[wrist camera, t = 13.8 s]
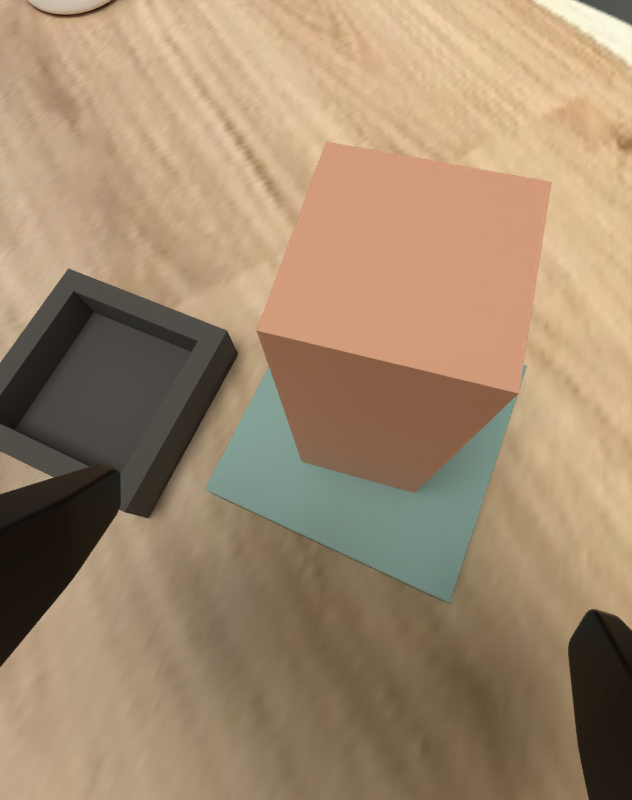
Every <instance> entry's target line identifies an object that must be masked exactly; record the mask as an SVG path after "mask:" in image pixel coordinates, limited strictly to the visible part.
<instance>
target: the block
mask: <svg viewBox="0 0 632 800" xmlns="http://www.w3.org/2000/svg"><path fill="white" fill-rule="evenodd" d="M550 188H551V182H548V181H543V180H537V179H532V178H526V177H520V176H515V175H509V174H504V173H498V172H492V171H487V170H481V169H476V168H470V167H465V166H459V165H453V164H448V163H442V162H437V161H431V160H425V159H420V158H414V157H409V156H403V155H398V154H392V153H386V152H381V151H375V150H370V149H364V148H358V147H353V146H347V145H342V144H336V143H331V142H326V144H325V146H324V149H323V152H322V155H321V157H320V160H319V163H318V165H317V168H316V171H315V174H314V176H313V179H312V182H311V184H310V187H309V190H308V193H307V195H306V198H305V201H304V203H303V206H302V209H301V212H300V214H299V217H298V220H297V222H296V225H295V228H294V231H293V233H292V236H291V239H290V242H289V244H288V247H287V250H286V252H285V255H284V258H283V261H282V263H281V266H280V269H279V271H278V274H277V277H276V280H275V282H274V285H273V288H272V290H271V293H270V296H269V299H268V301H267V304H266V307H265V309H264V312H263V315H262V318H261V320H260V323H259V326H258V328H257V333H258V336H259V339H260V341H261V344H262V347H263V350H264V353H265V356H266V359H267V362H268V365H269V368H270V371H271V374H272V377H273V380H274V382H275V385H276V388H277V391H278V394H279V397H280V400H281V403H282V406H283V409H284V412H285V415H286V418H287V420H288V423H289V426H290V429H291V432H292V435H293V438H294V441H295V444H296V447H297V450H298V453H299V456H300V459H301V461H302V462H304V463H308V464H311V465H315V466H319V467H322V468H326V469H329V470H333V471H337V472H340V473H344V474H347V475H351V476H355V477H358V478H362V479H366V480H369V481H373V482H376V483H380V484H384V485H387V486H391V487H394V488H398V489H402V490H405V491H409V492H413V493H415V492H416V491H417V490H418V489H419V488H420V487H421V486H422V485H423V484H424V483H426V482H427V481H428V480H429V479H430V478H431V477H432V476H433V475H434V474H435V473H436V472H437V471H438V470H439V469H440V468H441V467H442V466H443V465H444V464H445V463H447V462H448V461H449V460H450V459H451V458H452V457H453V456H454V455H455V454H456V453H457V452H458V451H459V450H460V449H461V448H462V447H463V446H464V445H465V444H466V443H467V442H469V441H470V440H471V439H472V438H473V437H474V436H475V435H476V434H477V433H478V432H479V431H480V430H481V429H482V428H483V427H484V426H485V425H486V424H487V423H488V422H490V421H491V420H492V419H493V418H494V417H495V416H496V415H497V414H498V413H499V412H500V411H501V410H502V409H503V408H504V407H505V406H506V405H507V404H508V403H509V402H510V401H512V400H513V399H514V398H515V397H516V396H517V395H518V394H519V389H520V383H521V377H522V370H523V364H524V357H525V351H526V344H527V338H528V331H529V325H530V318H531V312H532V305H533V299H534V292H535V286H536V279H537V273H538V266H539V260H540V253H541V247H542V240H543V234H544V227H545V221H546V214H547V208H548V201H549V195H550Z"/></svg>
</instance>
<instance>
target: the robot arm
mask: <svg viewBox="0 0 632 800" xmlns="http://www.w3.org/2000/svg"><path fill="white" fill-rule="evenodd" d="M120 506H121V474H120V471H119V470H118V469H117V468H114V467H111V466H107V465H104V464H96V465H93V466H89V467H86V468H83V469H80V470H77V471H73V472H70V473H67V474H64V475H61V476H57V477H54V478H51V479H48V480H45V481H41V482H38V483H35V484H32V485H29V486H25V487H22V488H19V489H16V490H13V491H9V492H6V493H3V494H0V667H1V666H2V665H3V663H4V662H5V661H6V660H7V659H8V657H9V656H10V655H11V654H12V653H13V651H14V650H15V649H16V648H17V646H18V645H19V644H20V643H21V642H22V640H23V639H24V638H25V637H26V636H27V634H28V633H29V632H30V631H31V630H32V628H33V627H34V626H35V625H36V623H37V622H38V621H39V620H40V619H41V617H42V616H43V615H44V614H45V613H46V611H47V610H48V609H49V608H50V606H51V605H52V604H53V603H54V602H55V600H56V599H57V598H58V597H59V596H60V594H61V593H62V592H63V591H64V590H65V588H66V587H67V586H68V584H69V583H70V582H71V581H72V579H73V578H74V577H75V575H76V574H77V573H78V571H79V570H80V568H81V567H82V565H83V564H84V562H85V561H86V559H87V558H88V556H89V555H90V553H91V552H92V551H93V549H94V548H95V546H96V545H97V543H98V542H99V540H100V539H101V537H102V536H103V534H104V533H105V531H106V530H107V528H108V527H109V525H110V524H111V522H112V521H113V519H114V518H115V516H116V515H117V513H118V511H119V509H120ZM568 656H569V666H570V676H571V685H572V695H573V705H574V715H575V724H576V733H577V741H578V748H579V753H580V759H581V764H582V769H583V774H584V779H585V783H586V788H587V793H588V798H589V800H632V630H631V629H630V628H629V627H628V626H627V625H626V624H625V623H624V622H623V621H622V620H621V619H620V618H619V617H617V616H616V615H613V614H610V613H607V612H603V611H600V610H596V609H591V610H589V611H588V612H587V613H586V614H585V616H584V617H583V619H582V621H581V622H580V624H579V626H578V627H577V629H576V630H575V632H574V634H573V635H572V637H571V639H570V642H569V646H568Z"/></svg>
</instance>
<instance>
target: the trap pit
mask: <svg viewBox="0 0 632 800" xmlns="http://www.w3.org/2000/svg"><path fill="white" fill-rule="evenodd" d="M237 355H238V353H237V351H236V349H235V347H234V345H233V342H232V340H231V338H230V336H229V334H228V332H227V331H226V330H224V329H221V328H219V327H216V326H214V325H211V324H209V323H206V322H204V321H201V320H198V319H196V318H193V317H191V316H188V315H186V314H183V313H181V312H178V311H175V310H173V309H170V308H168V307H165V306H163V305H160V304H158V303H155V302H152V301H150V300H147V299H145V298H142V297H140V296H137V295H135V294H132V293H130V292H127V291H124V290H122V289H119V288H117V287H114V286H112V285H109V284H107V283H104V282H101V281H99V280H96V279H94V278H91V277H89V276H86V275H84V274H81V273H78V272H76V271H73V270H71V269H68V270H67V271H66V273H65V274H64V275H63V277H62V278H61V279H60V281H59V282H58V284H57V285H56V286H55V288H54V289H53V291H52V292H51V293H50V295H49V296H48V297H47V299H46V300H45V302H44V303H43V304H42V306H41V307H40V309H39V310H38V311H37V313H36V314H35V316H34V317H33V318H32V320H31V321H30V322H29V324H28V325H27V327H26V328H25V329H24V331H23V332H22V334H21V335H20V336H19V338H18V339H17V340H16V342H15V343H14V345H13V346H12V347H11V349H10V350H9V352H8V353H7V354H6V356H5V357H4V359H3V360H2V361H1V363H0V451H1V452H3V453H5V454H7V455H10V456H12V457H14V458H16V459H18V460H20V461H22V462H24V463H26V464H28V465H30V466H32V467H34V468H36V469H38V470H40V471H42V472H44V473H46V474H48V475H50V476H52V477H57V476H61V475H64V474H67V473H70V472H73V471H77V470H80V469H83V468H86V467H89V466H93V465H96V464H104V465H107V466H111V467H114V468H117V469H118V470H119V471H120V474H121V506H120V509H119V510H121V511H123V512H126V513H130V514H134V515H138V516H142V517H146V518H148V517H149V516H150V514H151V512H152V510H153V508H154V506H155V505H156V503H157V501H158V499H159V497H160V495H161V494H162V492H163V490H164V488H165V486H166V485H167V483H168V481H169V479H170V477H171V475H172V474H173V472H174V470H175V468H176V466H177V464H178V463H179V461H180V459H181V457H182V455H183V453H184V452H185V450H186V448H187V446H188V444H189V442H190V441H191V439H192V437H193V435H194V433H195V431H196V430H197V428H198V426H199V424H200V422H201V420H202V419H203V417H204V415H205V413H206V411H207V409H208V408H209V406H210V404H211V402H212V400H213V398H214V397H215V395H216V393H217V391H218V389H219V388H220V386H221V384H222V382H223V380H224V378H225V377H226V375H227V373H228V371H229V369H230V367H231V366H232V364H233V362H234V360H235V358H236V356H237Z"/></svg>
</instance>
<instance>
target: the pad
mask: <svg viewBox="0 0 632 800" xmlns="http://www.w3.org/2000/svg"><path fill="white" fill-rule="evenodd" d="M526 367H527V366H526V365H523V370H522V377H521V382H522V379H523V376H524V373H525V370H526ZM520 385H521V383H520ZM516 398H517V396H516V397H515V398H514V399H513V400H512V401H510V402H509V403H508V404H507V405H506V406H505V407H504V408H503V409H502V410H501V411H500V412H499V413H498V414H497V415H496V416H495V417H494V418H493V419H492V420H491V421H490V422H488V423H487V424H486V425H485V426H484V427H483V428H482V429H481V430H480V431H479V432H478V433H477V434H476V435H475V436H474V437H473V438H472V439H471V440H470V441H469V442H467V443H466V444H465V445H464V446H463V447H462V448H461V449H460V450H459V451H458V452H457V453H456V454H455V455H454V456H453V457H452V458H451V459H450V460H449V461H448V462H447V463H445V464H444V465H443V466H442V467H441V468H440V469H439V470H438V471H437V472H436V473H435V474H434V475H433V476H432V477H431V478H430V479H429V480H428V481H427V482H426V483H424V484H423V485H422V486H421V487H420V488H419V489H418V490H417V491H416V492H415V493H413V492H409V491H405V490H402V489H398V488H394V487H391V486H387V485H384V484H380V483H376V482H373V481H369V480H366V479H362V478H358V477H355V476H351V475H347V474H344V473H340V472H337V471H333V470H329V469H326V468H322V467H319V466H315V465H311V464H308V463H304V462H302V461H301V459H300V456H299V453H298V450H297V447H296V444H295V441H294V438H293V435H292V432H291V429H290V426H289V423H288V420H287V418H286V415H285V412H284V409H283V406H282V403H281V400H280V397H279V394H278V391H277V388H276V385H275V382H274V380H273V377H272V374H271V371H270V368H269V367H268V369H267V371H266V373H265V375H264V377H263V379H262V380H261V382H260V384H259V386H258V388H257V390H256V392H255V394H254V396H253V398H252V400H251V402H250V404H249V406H248V407H247V409H246V411H245V413H244V415H243V417H242V419H241V421H240V423H239V425H238V427H237V429H236V431H235V433H234V434H233V436H232V438H231V440H230V442H229V444H228V446H227V448H226V450H225V452H224V454H223V456H222V458H221V460H220V461H219V463H218V465H217V467H216V469H215V471H214V473H213V475H212V477H211V479H210V481H209V483H208V485H207V487H206V489H205V490H207V491H209V492H210V493H212V494H214V495H216V496H218V497H220V498H222V499H225V500H227V501H229V502H231V503H233V504H235V505H238V506H240V507H242V508H244V509H246V510H248V511H250V512H253V513H255V514H257V515H259V516H261V517H263V518H265V519H268V520H270V521H272V522H274V523H276V524H278V525H281V526H283V527H285V528H287V529H289V530H291V531H293V532H296V533H298V534H300V535H302V536H304V537H306V538H308V539H311V540H313V541H315V542H317V543H319V544H321V545H324V546H326V547H328V548H330V549H332V550H334V551H336V552H339V553H341V554H343V555H345V556H347V557H349V558H351V559H354V560H356V561H358V562H360V563H362V564H364V565H367V566H369V567H371V568H373V569H375V570H377V571H379V572H382V573H384V574H386V575H388V576H390V577H392V578H394V579H397V580H399V581H401V582H403V583H405V584H407V585H410V586H412V587H414V588H416V589H418V590H420V591H422V592H425V593H427V594H429V595H431V596H433V597H435V598H437V599H440V600H442V601H445V602H448V603H450V600H451V597H452V594H453V591H454V588H455V585H456V582H457V579H458V576H459V573H460V570H461V567H462V564H463V560H464V557H465V554H466V551H467V548H468V545H469V542H470V539H471V536H472V533H473V530H474V527H475V524H476V520H477V517H478V514H479V511H480V508H481V505H482V502H483V499H484V496H485V493H486V490H487V487H488V484H489V481H490V477H491V474H492V471H493V468H494V465H495V462H496V459H497V456H498V453H499V450H500V447H501V444H502V441H503V438H504V434H505V431H506V428H507V425H508V422H509V419H510V416H511V413H512V410H513V407H514V404H515V401H516Z"/></svg>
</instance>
